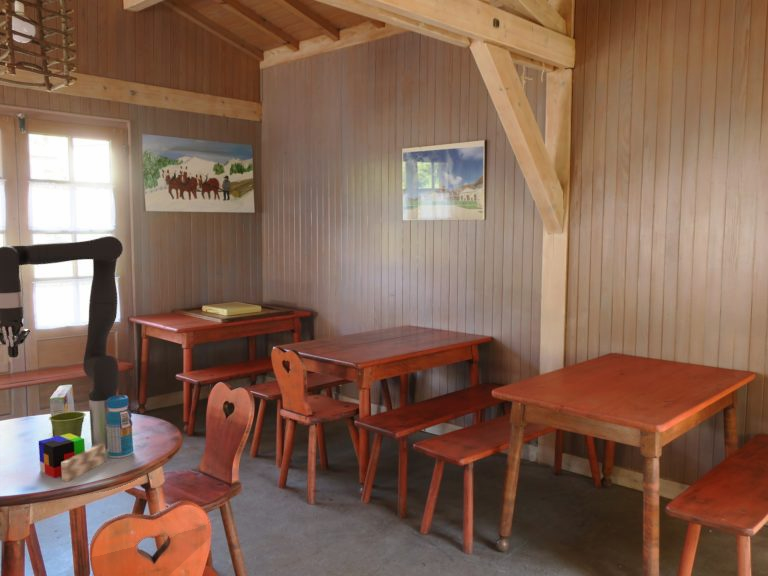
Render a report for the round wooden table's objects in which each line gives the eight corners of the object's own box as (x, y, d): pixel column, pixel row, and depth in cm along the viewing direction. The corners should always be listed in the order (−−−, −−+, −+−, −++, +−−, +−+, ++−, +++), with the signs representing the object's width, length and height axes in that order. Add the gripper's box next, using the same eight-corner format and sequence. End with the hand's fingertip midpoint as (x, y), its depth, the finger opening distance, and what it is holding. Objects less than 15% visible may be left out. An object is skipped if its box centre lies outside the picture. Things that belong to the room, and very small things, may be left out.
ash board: (100, 461, 219) (99, 443, 219) (105, 461, 219) (104, 443, 218) (62, 481, 202) (60, 462, 201) (67, 481, 201) (66, 462, 201)
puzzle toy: (40, 471, 211) (38, 440, 210) (71, 462, 219) (69, 433, 218) (54, 478, 205) (52, 447, 204) (85, 469, 212) (84, 438, 212)
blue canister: (105, 460, 220) (102, 401, 219) (109, 451, 228) (106, 395, 227) (132, 457, 223) (129, 399, 221) (135, 449, 231) (132, 393, 229)
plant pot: (73, 452, 228) (71, 421, 227) (43, 451, 231) (41, 419, 230) (94, 442, 240) (92, 411, 239) (65, 440, 242) (64, 410, 241)
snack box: (60, 421, 267) (58, 385, 266) (75, 420, 269) (73, 384, 267) (51, 437, 247) (48, 397, 246) (67, 435, 249) (65, 396, 247)
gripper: (35, 304, 221) (38, 355, 222) (2, 304, 224) (6, 354, 226) (17, 307, 214) (21, 359, 215) (-16, 307, 217) (-12, 358, 218)
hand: (13, 357), depth 220 cm, fingers closed
